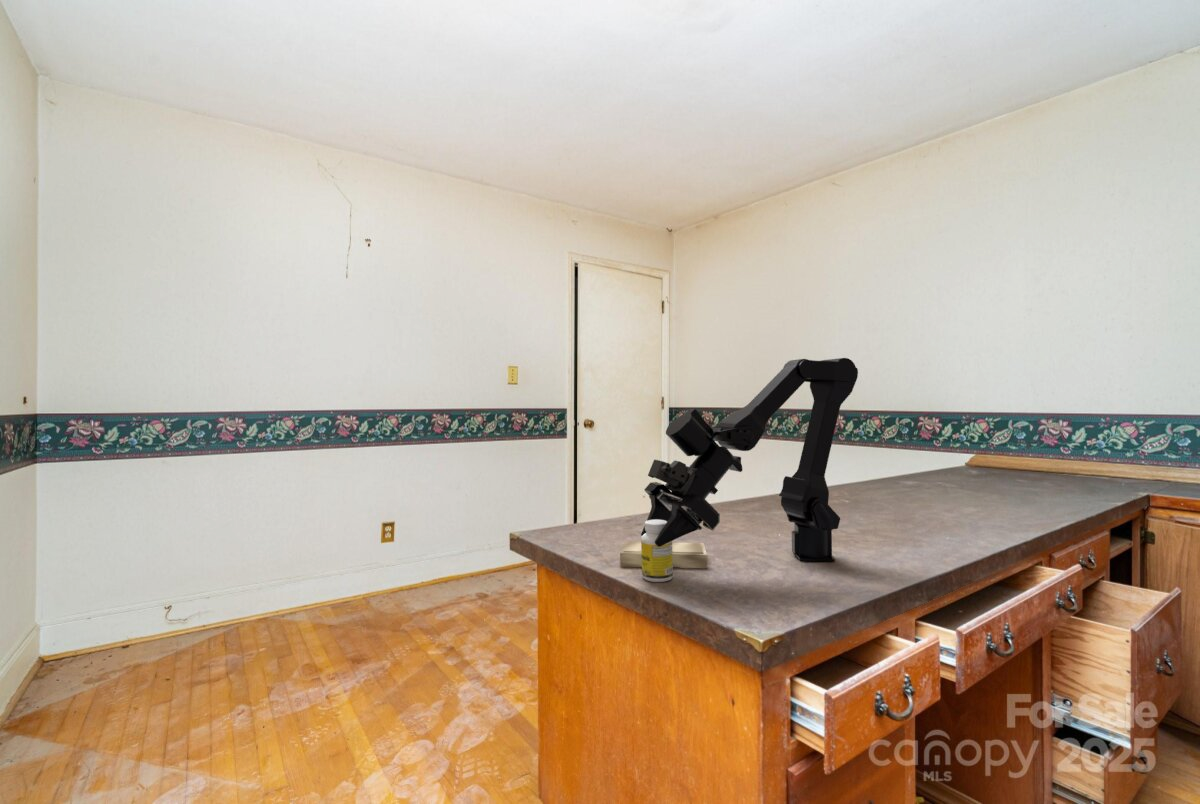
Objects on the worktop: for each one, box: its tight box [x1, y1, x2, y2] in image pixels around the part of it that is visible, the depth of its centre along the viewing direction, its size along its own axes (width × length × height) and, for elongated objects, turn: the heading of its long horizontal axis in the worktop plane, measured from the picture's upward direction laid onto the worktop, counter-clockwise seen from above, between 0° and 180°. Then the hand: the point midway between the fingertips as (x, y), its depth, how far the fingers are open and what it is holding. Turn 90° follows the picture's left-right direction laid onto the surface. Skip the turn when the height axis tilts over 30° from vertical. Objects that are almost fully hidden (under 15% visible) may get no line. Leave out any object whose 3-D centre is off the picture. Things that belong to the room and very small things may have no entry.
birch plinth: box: [619, 541, 708, 569], centre depth 104 cm, size 16×8×3 cm, turn 83°
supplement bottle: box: [640, 519, 674, 583], centre depth 94 cm, size 5×5×10 cm
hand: (649, 540), depth 94 cm, fingers closed on supplement bottle, 5 cm apart
